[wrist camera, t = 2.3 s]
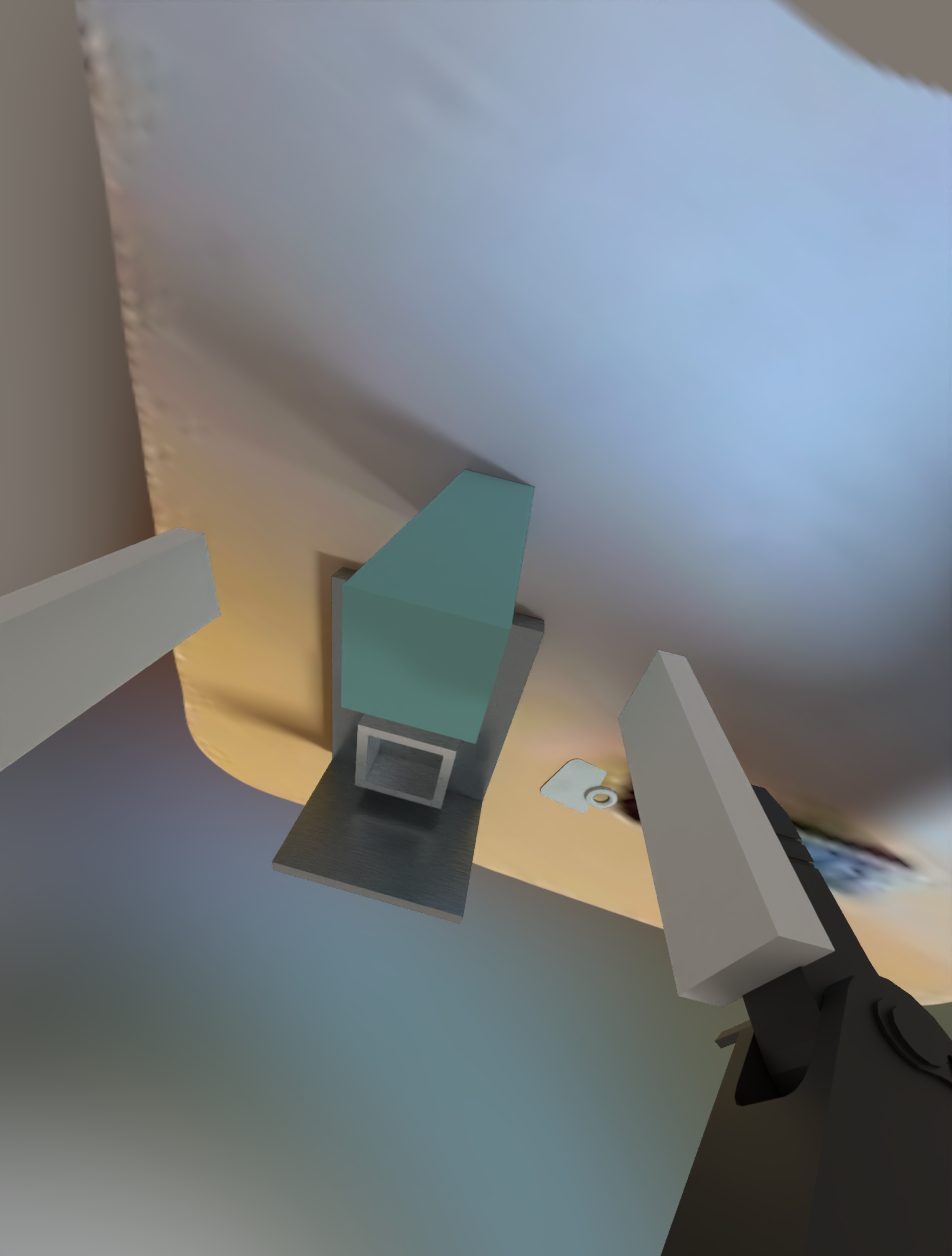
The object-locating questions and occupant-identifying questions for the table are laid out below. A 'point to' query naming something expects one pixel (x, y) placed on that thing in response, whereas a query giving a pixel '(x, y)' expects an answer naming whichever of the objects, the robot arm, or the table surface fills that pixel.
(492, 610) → the teal block
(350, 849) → the cup bracket
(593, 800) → the mounting bracket
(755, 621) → the table surface
